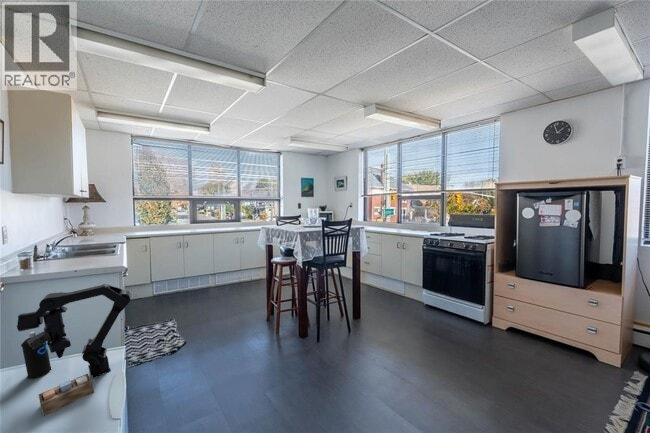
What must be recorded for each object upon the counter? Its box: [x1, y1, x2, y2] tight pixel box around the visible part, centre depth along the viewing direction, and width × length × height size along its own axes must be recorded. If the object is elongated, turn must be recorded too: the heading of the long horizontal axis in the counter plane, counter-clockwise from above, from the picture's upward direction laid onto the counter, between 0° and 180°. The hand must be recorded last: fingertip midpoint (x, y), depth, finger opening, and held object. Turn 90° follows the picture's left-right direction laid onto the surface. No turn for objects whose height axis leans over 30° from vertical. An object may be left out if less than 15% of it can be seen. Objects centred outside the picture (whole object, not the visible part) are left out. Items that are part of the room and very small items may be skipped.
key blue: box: [58, 379, 72, 393], centre depth 118 cm, size 3×3×4 cm
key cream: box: [75, 374, 88, 386], centre depth 122 cm, size 3×3×4 cm
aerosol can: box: [20, 331, 52, 380], centre depth 134 cm, size 8×8×20 cm
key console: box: [38, 373, 95, 417], centre depth 118 cm, size 15×8×5 cm, turn 140°
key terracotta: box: [42, 388, 55, 400], centre depth 114 cm, size 3×3×4 cm
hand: (60, 357), depth 126 cm, fingers closed
